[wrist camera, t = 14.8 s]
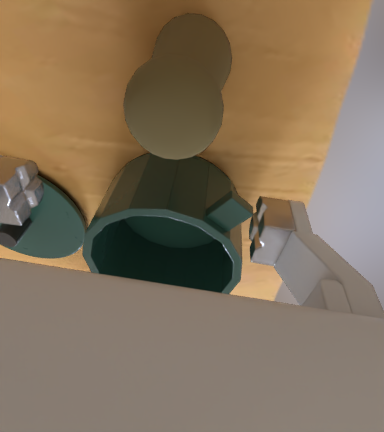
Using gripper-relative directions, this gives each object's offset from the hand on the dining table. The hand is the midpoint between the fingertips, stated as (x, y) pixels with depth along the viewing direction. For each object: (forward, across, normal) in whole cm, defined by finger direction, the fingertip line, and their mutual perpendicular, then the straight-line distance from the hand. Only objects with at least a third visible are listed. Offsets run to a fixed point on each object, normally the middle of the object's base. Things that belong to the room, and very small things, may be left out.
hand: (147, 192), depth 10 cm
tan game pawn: (+16, 0, 0) cm, 16 cm away
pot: (+16, 0, +15) cm, 22 cm away
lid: (+15, +19, +19) cm, 31 cm away
